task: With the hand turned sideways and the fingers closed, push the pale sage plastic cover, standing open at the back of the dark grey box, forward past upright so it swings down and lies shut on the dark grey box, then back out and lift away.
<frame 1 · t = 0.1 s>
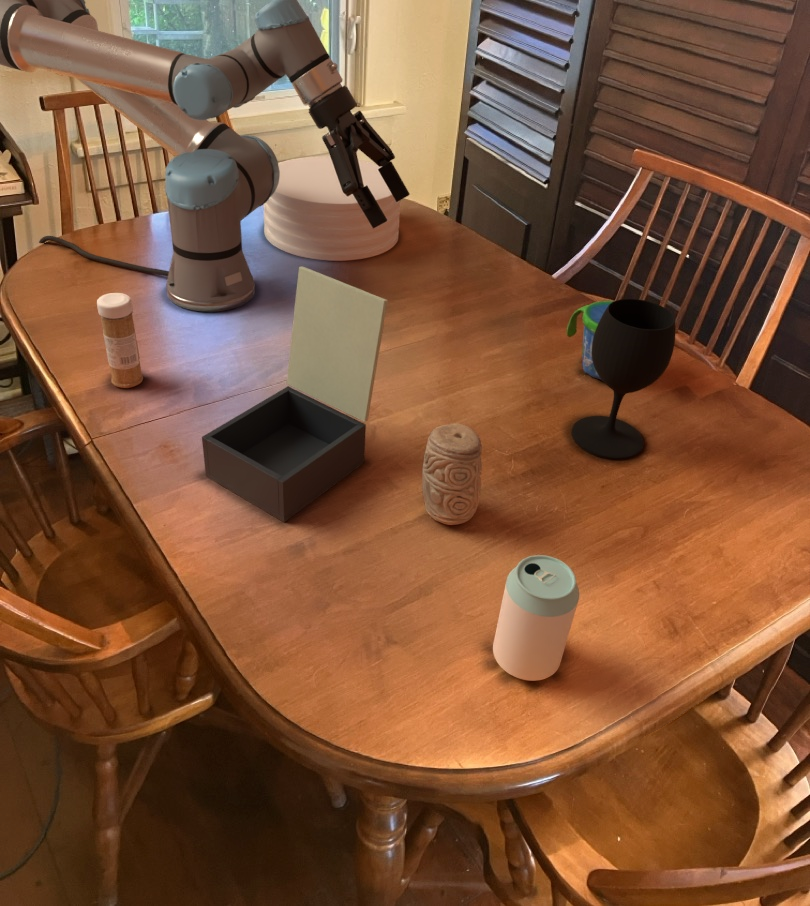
hand: (392, 211, 139), 15 cm above the table, tool tilted 35°, fingers open, 13 cm apart
wine glass: (606, 439, 116), on the table
can: (525, 657, 83), on the table
dark grey box: (286, 469, 105), on the table
plate stack: (331, 233, 169), on the table
carving: (447, 514, 100), on the table
sprinkles bottle: (127, 382, 119), on the table
snack cup: (603, 372, 131), on the table
cover: (333, 344, 102), point 15 cm above the table, hinge at 100.0°
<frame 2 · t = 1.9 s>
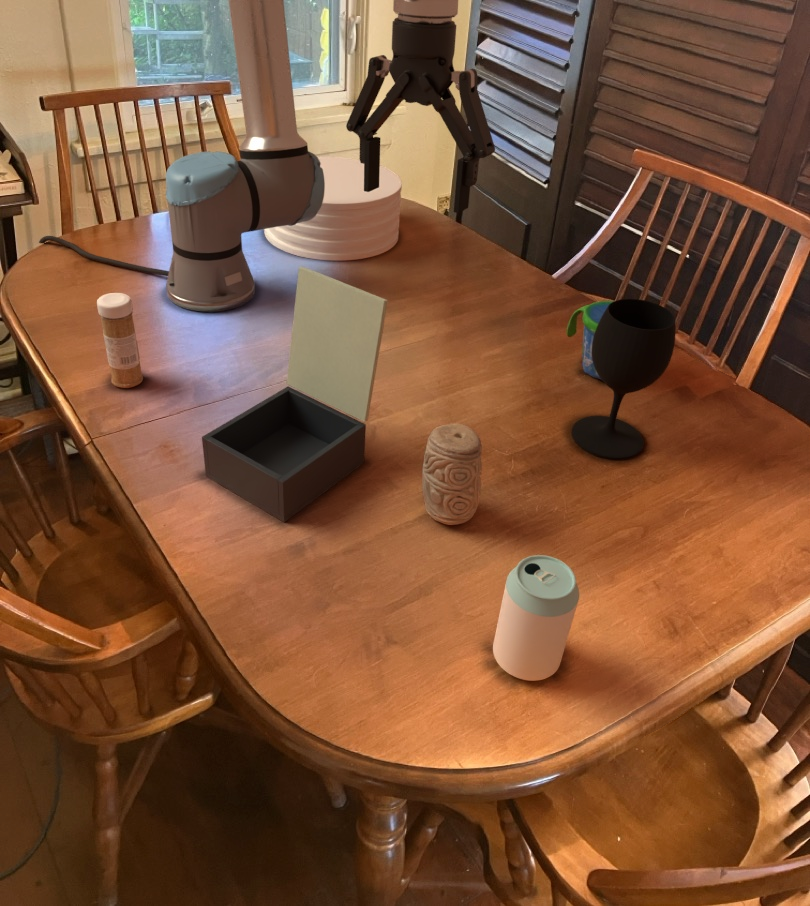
hand: (415, 199, 106), 29 cm above the table, tool pointing down, fingers open, 13 cm apart
nothing on the table moved.
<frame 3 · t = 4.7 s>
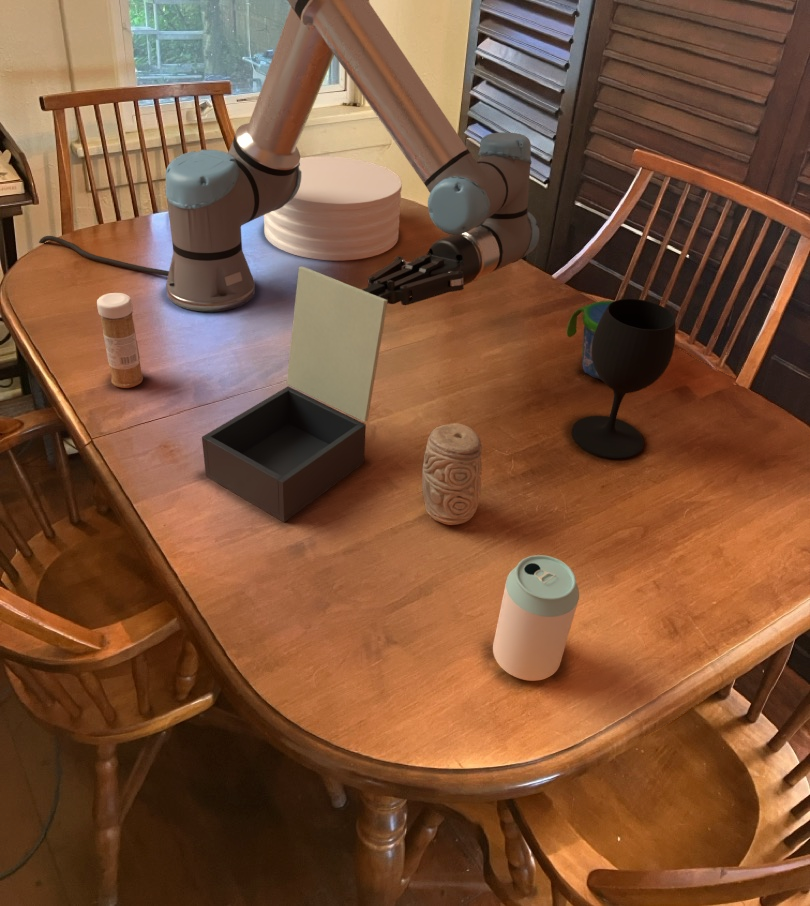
hand: (347, 308, 106), 17 cm above the table, tool horizontal, fingers closed
nothing on the table moved.
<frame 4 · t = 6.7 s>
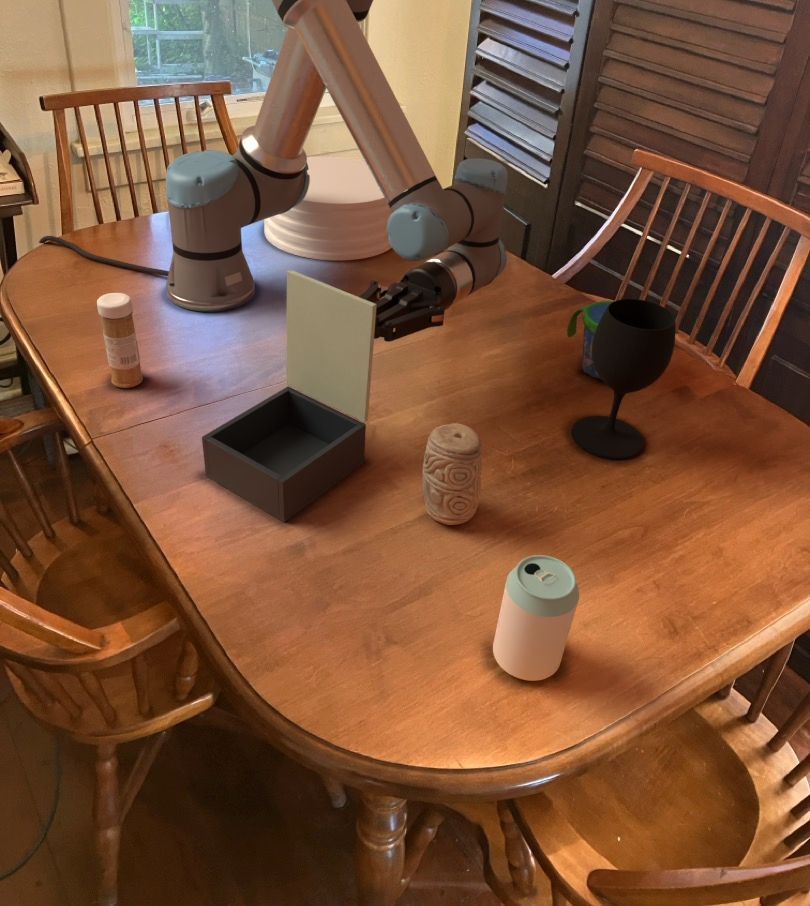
hand: (332, 345, 102), 15 cm above the table, tool horizontal, fingers closed
cover: (328, 347, 101), point 15 cm above the table, hinge at 92.1°, touching gripper
everything else where it was.
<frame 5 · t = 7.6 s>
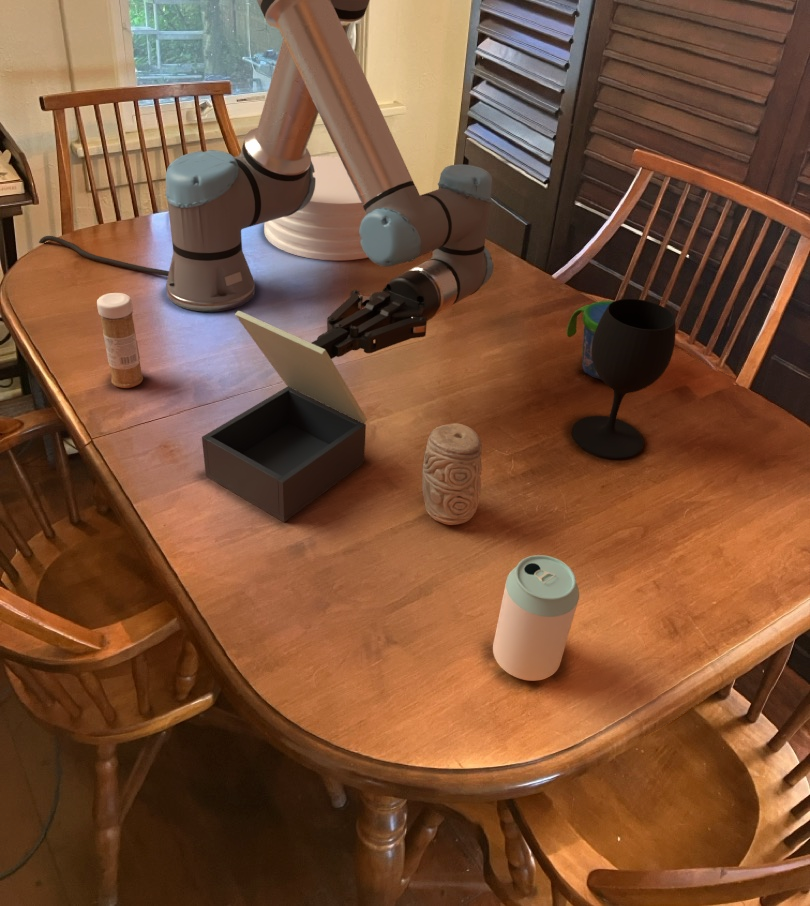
hand: (310, 357, 99), 15 cm above the table, tool horizontal, fingers closed
cover: (304, 369, 99), point 14 cm above the table, hinge at 58.7°
everything else where it was.
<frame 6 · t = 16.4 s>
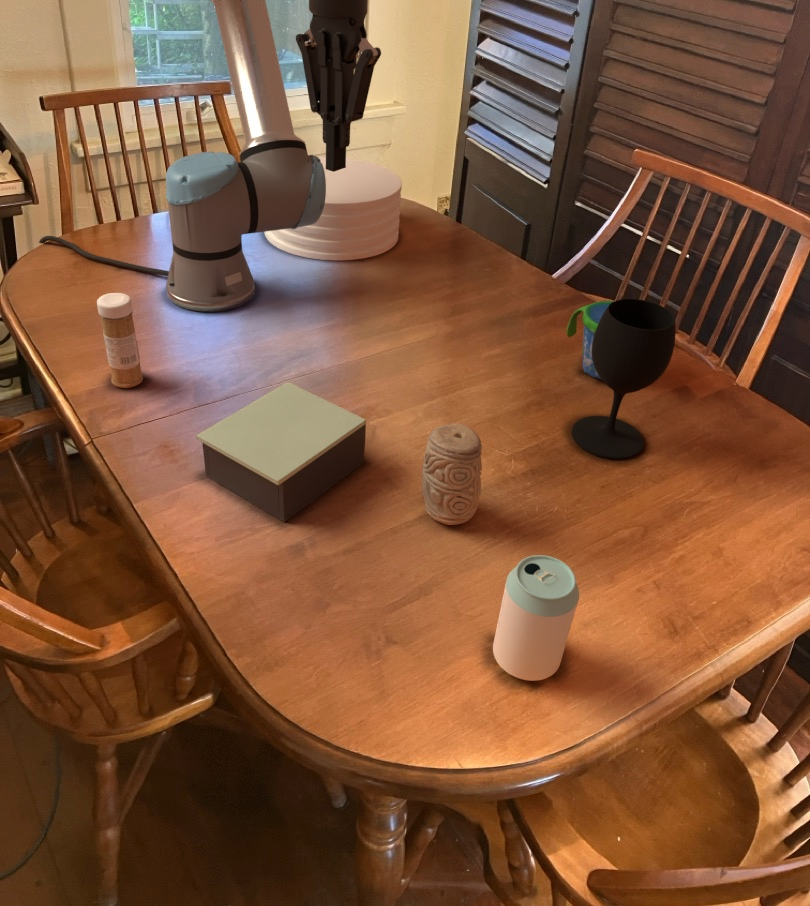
hand: (335, 168, 115), 28 cm above the table, tool pointing down, fingers closed
cover: (283, 429, 101), point 7 cm above the table, hinge at -0.1°
everything else where it was.
at the end: cover at +0° (first picture: +100°) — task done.
